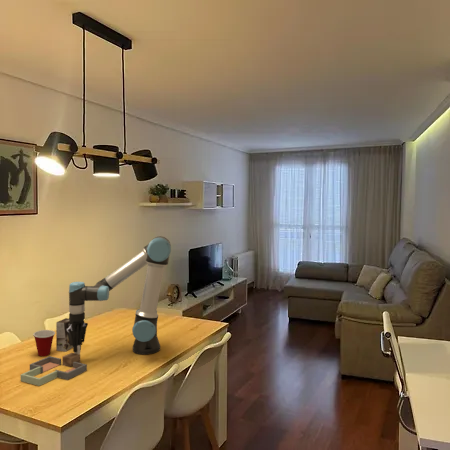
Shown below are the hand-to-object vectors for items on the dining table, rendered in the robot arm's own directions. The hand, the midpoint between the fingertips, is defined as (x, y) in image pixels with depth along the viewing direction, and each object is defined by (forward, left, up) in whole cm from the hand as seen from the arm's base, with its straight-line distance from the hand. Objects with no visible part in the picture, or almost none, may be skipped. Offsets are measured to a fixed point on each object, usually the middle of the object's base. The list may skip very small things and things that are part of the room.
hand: (77, 357), depth 204 cm
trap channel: (0, +17, -2) cm, 17 cm away
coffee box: (+20, -12, -2) cm, 23 cm away
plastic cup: (+23, 0, -2) cm, 23 cm away
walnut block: (0, +4, -2) cm, 4 cm away
